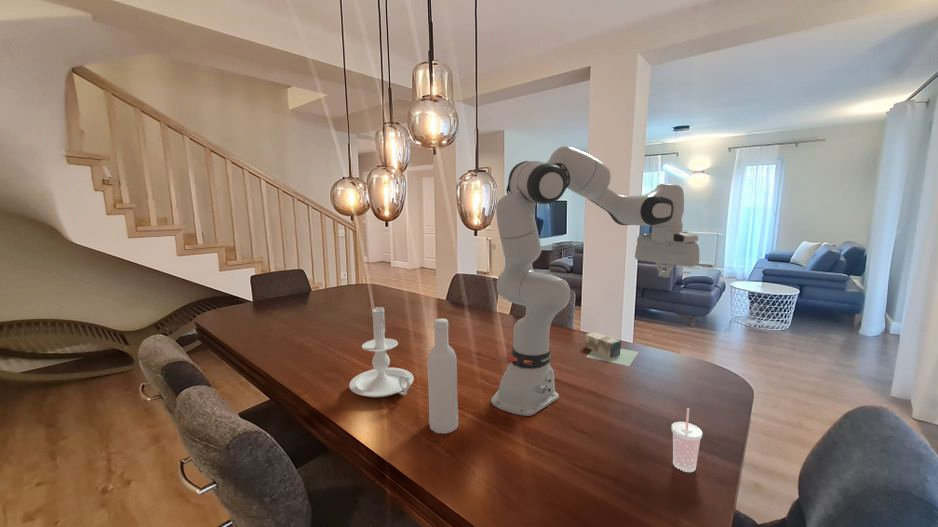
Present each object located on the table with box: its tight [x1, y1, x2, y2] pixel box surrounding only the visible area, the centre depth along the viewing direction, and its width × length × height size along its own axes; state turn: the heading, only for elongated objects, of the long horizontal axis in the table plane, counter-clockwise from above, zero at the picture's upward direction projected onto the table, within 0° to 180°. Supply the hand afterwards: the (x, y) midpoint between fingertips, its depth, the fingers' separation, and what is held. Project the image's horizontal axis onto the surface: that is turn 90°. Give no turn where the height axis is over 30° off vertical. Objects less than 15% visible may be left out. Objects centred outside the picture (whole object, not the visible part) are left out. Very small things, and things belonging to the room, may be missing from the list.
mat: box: [585, 348, 639, 367], centre depth 152 cm, size 16×16×1 cm
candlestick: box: [348, 306, 415, 398], centre depth 124 cm, size 21×25×28 cm
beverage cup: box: [671, 407, 703, 473], centre depth 87 cm, size 6×6×14 cm
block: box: [584, 331, 622, 357], centre depth 156 cm, size 6×6×13 cm
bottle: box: [426, 318, 459, 435], centre depth 103 cm, size 8×8×30 cm
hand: (663, 276), depth 128 cm, fingers closed
